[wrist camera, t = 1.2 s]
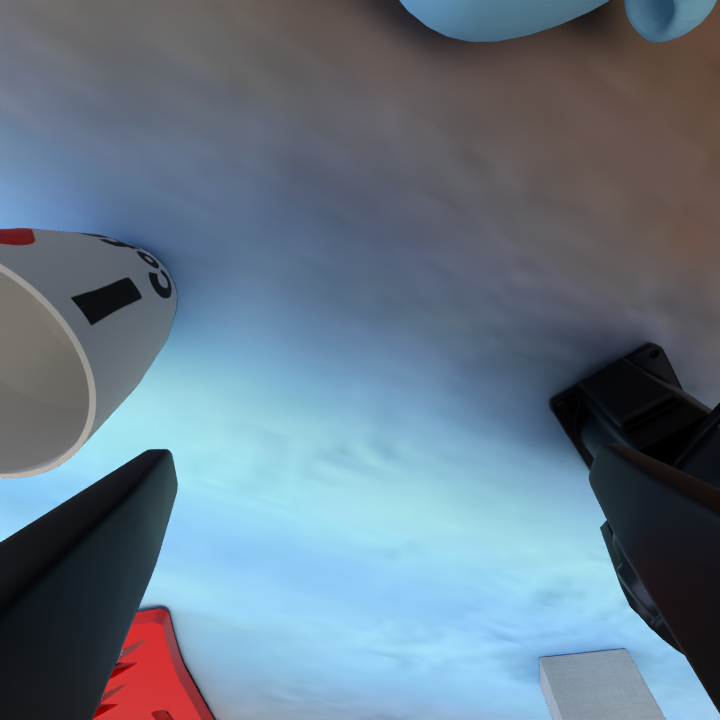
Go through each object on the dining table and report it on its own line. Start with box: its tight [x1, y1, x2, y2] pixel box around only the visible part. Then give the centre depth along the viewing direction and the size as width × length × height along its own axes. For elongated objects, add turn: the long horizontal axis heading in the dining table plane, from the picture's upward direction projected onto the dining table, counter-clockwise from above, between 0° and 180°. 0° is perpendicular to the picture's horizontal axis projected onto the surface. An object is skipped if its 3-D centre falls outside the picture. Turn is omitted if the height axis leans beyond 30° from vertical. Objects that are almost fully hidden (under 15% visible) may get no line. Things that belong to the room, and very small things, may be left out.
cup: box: [0, 228, 177, 478], centre depth 17 cm, size 8×8×10 cm
